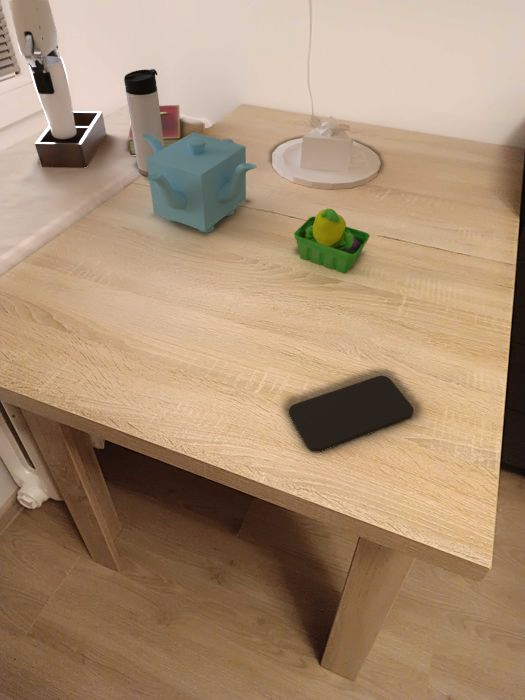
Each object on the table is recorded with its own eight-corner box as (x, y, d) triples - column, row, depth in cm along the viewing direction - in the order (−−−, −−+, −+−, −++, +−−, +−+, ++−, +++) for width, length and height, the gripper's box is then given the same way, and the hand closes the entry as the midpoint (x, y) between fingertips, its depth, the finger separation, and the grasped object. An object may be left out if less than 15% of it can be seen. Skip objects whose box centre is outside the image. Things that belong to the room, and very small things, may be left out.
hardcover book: (129, 156, 117) (126, 138, 114) (134, 122, 131) (132, 105, 128) (181, 154, 118) (179, 136, 115) (180, 120, 133) (179, 103, 130)
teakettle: (237, 188, 106) (235, 117, 96) (258, 235, 94) (259, 158, 83) (147, 198, 103) (135, 125, 92) (157, 248, 90) (144, 169, 80)
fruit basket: (366, 258, 89) (378, 200, 81) (346, 284, 83) (356, 224, 75) (309, 239, 93) (315, 182, 85) (286, 263, 87) (290, 204, 79)
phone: (285, 406, 64) (385, 372, 68) (285, 410, 64) (384, 376, 68) (312, 452, 59) (417, 413, 63) (311, 456, 59) (416, 417, 64)
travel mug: (171, 173, 111) (160, 74, 97) (141, 178, 109) (125, 78, 95) (164, 162, 115) (152, 65, 101) (135, 166, 113) (119, 68, 99)
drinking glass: (83, 129, 114) (66, 55, 104) (76, 141, 110) (58, 65, 99) (53, 129, 114) (33, 55, 103) (45, 141, 109) (23, 65, 99)
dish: (380, 193, 106) (390, 140, 98) (263, 183, 108) (265, 130, 100) (379, 146, 123) (388, 98, 115) (279, 138, 126) (281, 90, 118)
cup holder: (41, 167, 112) (34, 143, 108) (66, 132, 126) (60, 110, 122) (86, 168, 112) (81, 144, 108) (106, 133, 126) (102, 111, 122)
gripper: (21, -26, 98) (47, 74, 111) (-14, -8, 86) (20, 101, 99) (59, -25, 98) (81, 74, 111) (30, -8, 86) (58, 102, 99)
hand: (52, 86), depth 105 cm, fingers closed on drinking glass, 6 cm apart
